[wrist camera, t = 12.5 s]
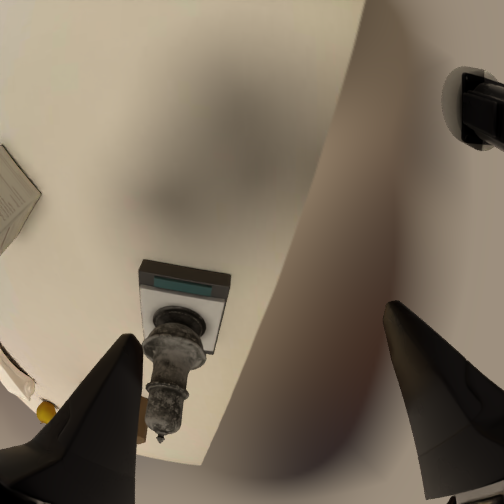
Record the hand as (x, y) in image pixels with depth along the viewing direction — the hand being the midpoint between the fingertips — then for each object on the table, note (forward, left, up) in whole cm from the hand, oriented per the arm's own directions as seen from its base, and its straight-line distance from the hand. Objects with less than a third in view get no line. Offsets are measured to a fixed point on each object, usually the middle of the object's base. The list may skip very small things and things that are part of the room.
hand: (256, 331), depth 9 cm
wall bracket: (+60, +22, -13) cm, 65 cm away
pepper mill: (+9, +12, -11) cm, 19 cm away
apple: (+68, +50, -13) cm, 85 cm away
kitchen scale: (+9, +12, -13) cm, 20 cm away
